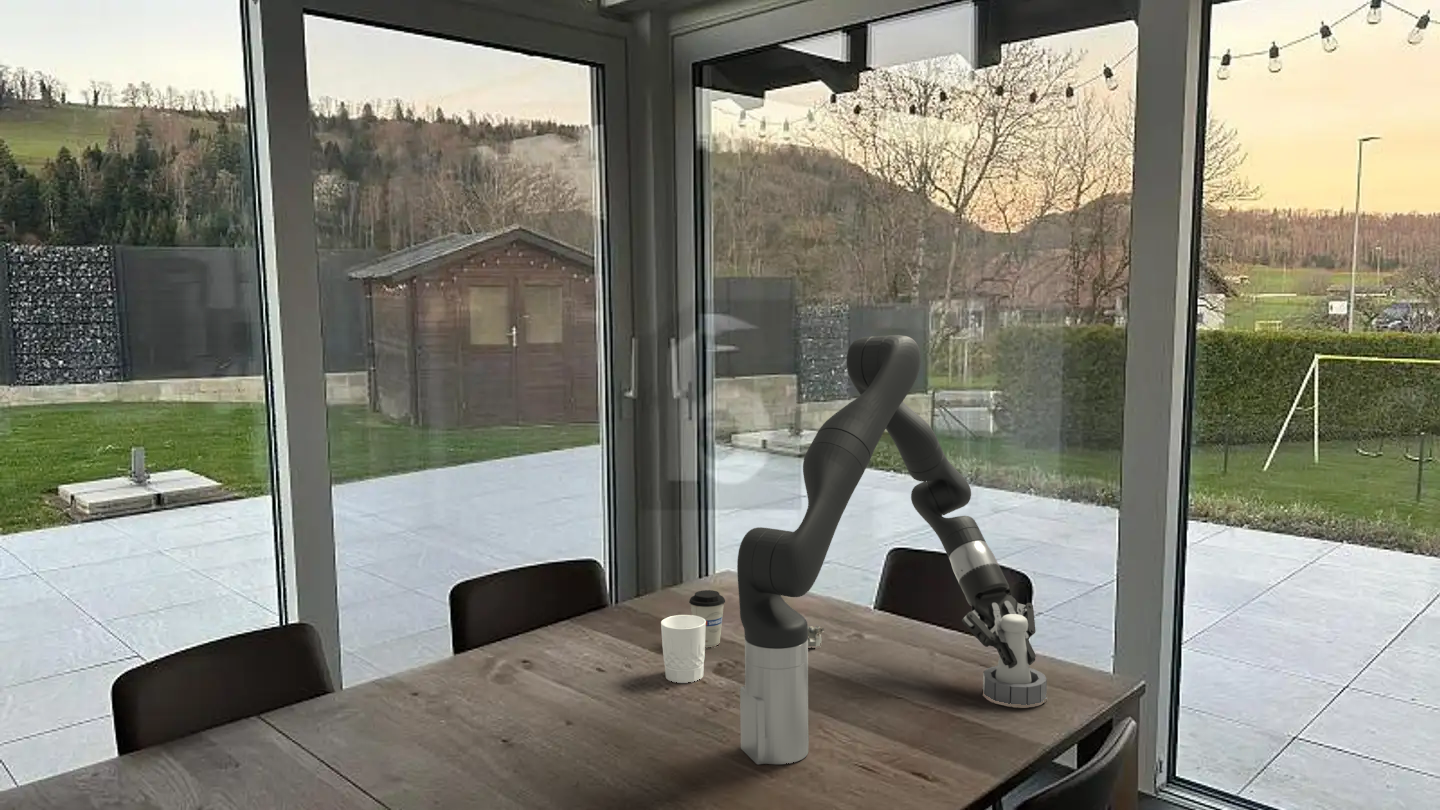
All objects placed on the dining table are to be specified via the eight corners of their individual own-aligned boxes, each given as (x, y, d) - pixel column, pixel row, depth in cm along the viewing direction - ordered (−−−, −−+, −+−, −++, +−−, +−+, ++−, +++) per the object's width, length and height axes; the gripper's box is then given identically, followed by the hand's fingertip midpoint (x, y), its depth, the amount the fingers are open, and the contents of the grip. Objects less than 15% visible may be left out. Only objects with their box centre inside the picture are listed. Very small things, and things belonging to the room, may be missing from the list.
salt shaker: (1032, 699, 170) (1034, 622, 169) (996, 697, 171) (997, 620, 170) (1029, 686, 176) (1031, 611, 174) (994, 684, 177) (995, 609, 176)
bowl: (1008, 712, 167) (1008, 691, 167) (969, 690, 176) (969, 670, 176) (1060, 702, 171) (1061, 681, 170) (1019, 680, 180) (1020, 661, 180)
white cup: (709, 669, 188) (708, 615, 187) (704, 685, 180) (703, 629, 179) (665, 668, 189) (664, 614, 188) (658, 684, 181) (657, 628, 180)
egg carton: (826, 649, 198) (827, 628, 198) (793, 656, 195) (793, 634, 194) (797, 633, 208) (797, 613, 207) (764, 639, 204) (764, 618, 204)
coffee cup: (684, 641, 203) (683, 591, 202) (716, 636, 206) (715, 586, 205) (698, 652, 197) (697, 600, 196) (731, 646, 200) (731, 595, 198)
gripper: (953, 566, 176) (997, 660, 166) (1021, 557, 181) (1068, 648, 171) (935, 589, 181) (976, 681, 171) (1002, 579, 186) (1045, 668, 177)
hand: (1022, 664), depth 171 cm, fingers closed on salt shaker, 3 cm apart
